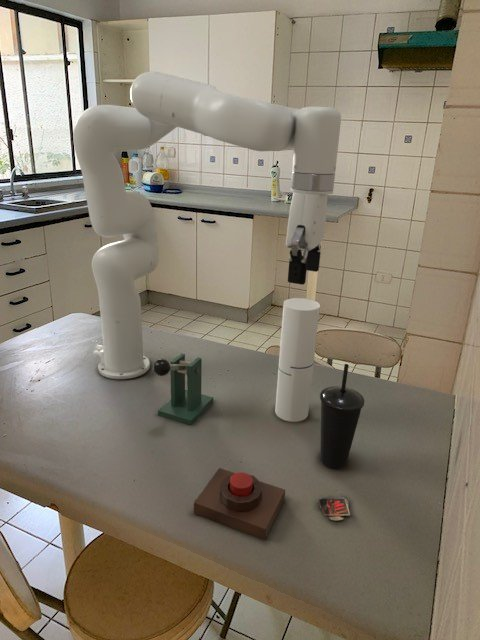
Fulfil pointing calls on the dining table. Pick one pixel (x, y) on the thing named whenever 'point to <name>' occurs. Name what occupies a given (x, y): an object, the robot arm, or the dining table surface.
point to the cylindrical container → (296, 358)
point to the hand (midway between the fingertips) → (303, 276)
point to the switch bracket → (186, 394)
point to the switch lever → (169, 367)
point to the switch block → (240, 505)
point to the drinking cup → (338, 422)
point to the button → (241, 484)
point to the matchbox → (334, 507)
